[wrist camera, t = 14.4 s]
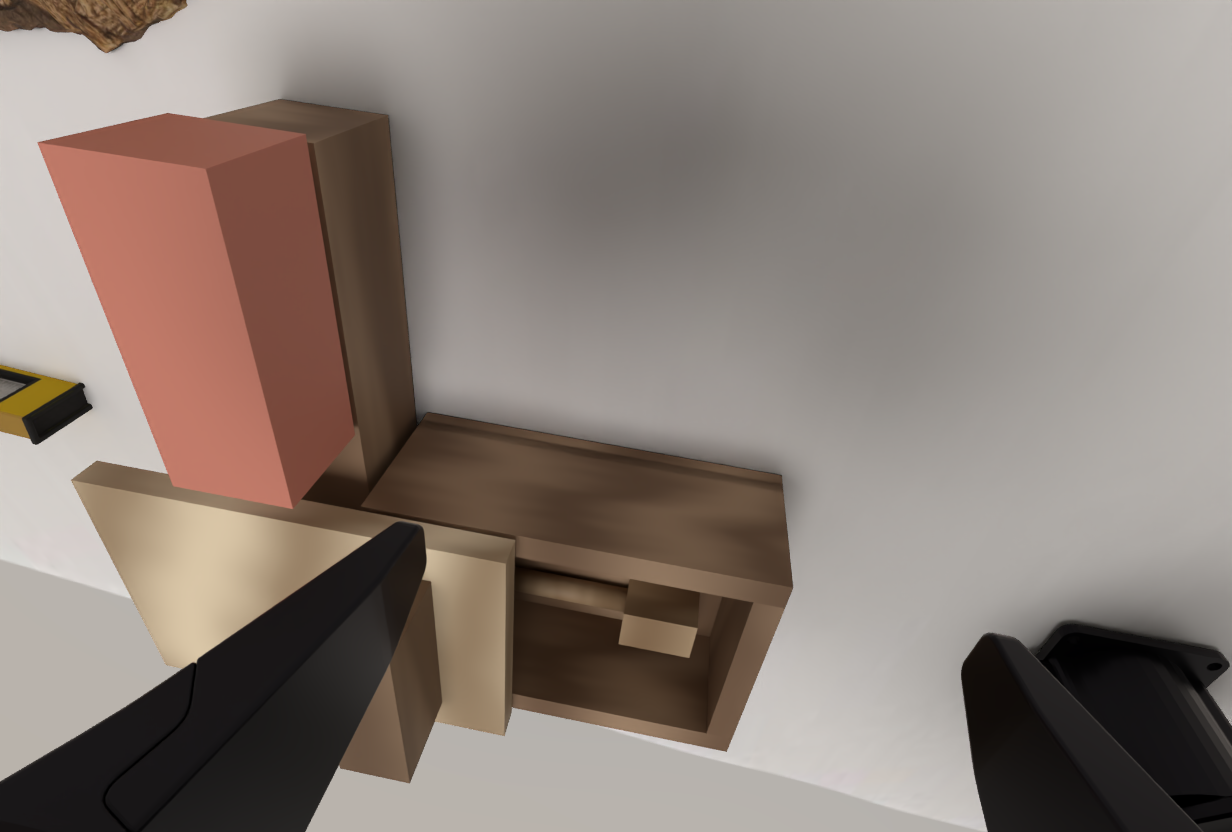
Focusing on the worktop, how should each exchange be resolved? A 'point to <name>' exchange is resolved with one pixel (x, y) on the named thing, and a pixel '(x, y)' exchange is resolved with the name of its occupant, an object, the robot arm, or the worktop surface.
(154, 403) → the pink rectangular block
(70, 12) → the wooden fragment
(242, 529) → the lid
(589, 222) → the worktop surface
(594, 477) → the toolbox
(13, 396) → the spirit level
